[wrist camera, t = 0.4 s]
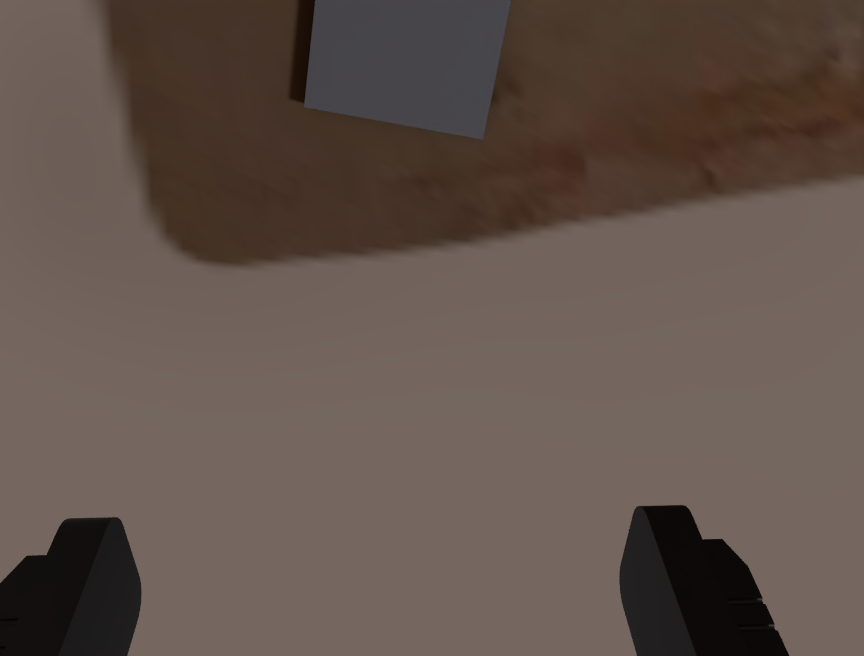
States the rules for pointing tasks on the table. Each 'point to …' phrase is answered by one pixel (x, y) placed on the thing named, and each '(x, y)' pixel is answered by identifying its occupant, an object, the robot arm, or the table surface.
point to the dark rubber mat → (407, 61)
